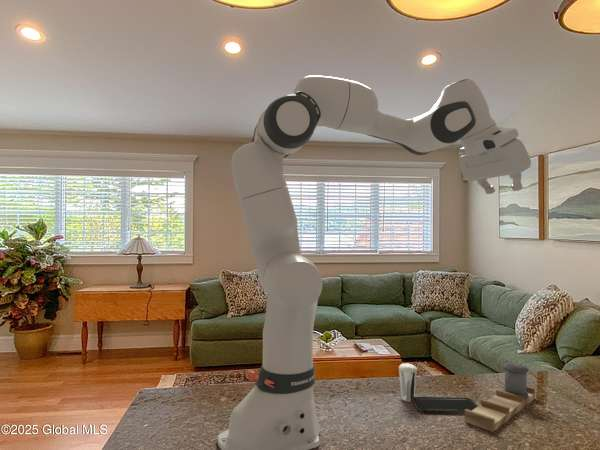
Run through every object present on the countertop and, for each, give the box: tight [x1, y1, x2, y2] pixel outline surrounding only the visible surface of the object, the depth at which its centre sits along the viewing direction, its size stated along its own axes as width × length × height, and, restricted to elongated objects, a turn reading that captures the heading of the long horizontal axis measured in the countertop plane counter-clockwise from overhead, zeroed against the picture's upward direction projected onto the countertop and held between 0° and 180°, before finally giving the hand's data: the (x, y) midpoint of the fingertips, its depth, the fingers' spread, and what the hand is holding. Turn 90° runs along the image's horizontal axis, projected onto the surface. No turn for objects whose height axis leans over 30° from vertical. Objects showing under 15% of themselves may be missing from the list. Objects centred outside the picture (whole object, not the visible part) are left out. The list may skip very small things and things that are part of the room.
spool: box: [502, 362, 529, 398], centre depth 107 cm, size 6×6×7 cm
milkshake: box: [398, 361, 421, 403], centre depth 107 cm, size 4×5×10 cm
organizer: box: [464, 385, 536, 433], centre depth 101 cm, size 26×6×3 cm, turn 132°
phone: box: [412, 396, 479, 415], centre depth 102 cm, size 8×1×15 cm
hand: (504, 191), depth 104 cm, fingers open, 8 cm apart
